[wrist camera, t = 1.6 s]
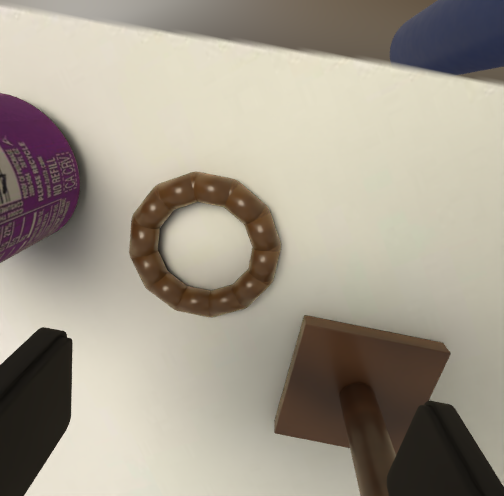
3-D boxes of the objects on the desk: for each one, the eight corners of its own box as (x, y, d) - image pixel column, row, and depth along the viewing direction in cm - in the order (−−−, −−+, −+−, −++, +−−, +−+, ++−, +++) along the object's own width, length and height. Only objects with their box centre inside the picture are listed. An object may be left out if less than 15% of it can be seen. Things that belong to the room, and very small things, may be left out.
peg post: (304, 314, 20) (344, 613, 8) (443, 342, 21) (684, 679, 8) (274, 420, 23) (271, 758, 11) (396, 444, 23) (525, 805, 11)
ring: (141, 157, 18) (131, 161, 17) (293, 188, 18) (294, 194, 17) (131, 292, 21) (121, 304, 19) (262, 318, 21) (262, 333, 19)
